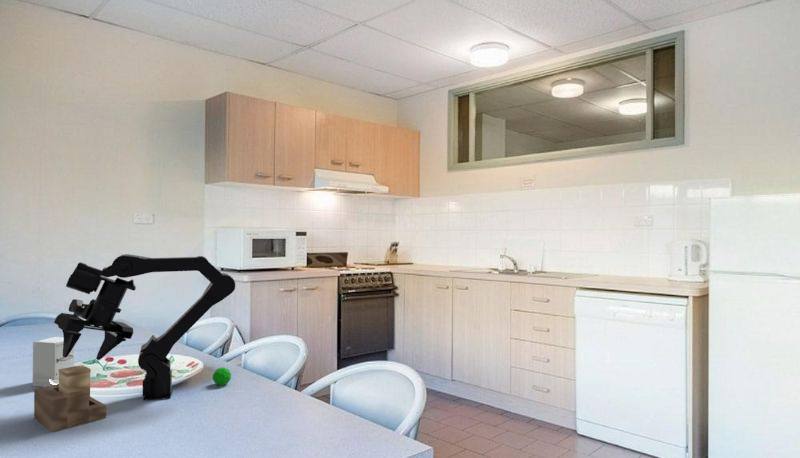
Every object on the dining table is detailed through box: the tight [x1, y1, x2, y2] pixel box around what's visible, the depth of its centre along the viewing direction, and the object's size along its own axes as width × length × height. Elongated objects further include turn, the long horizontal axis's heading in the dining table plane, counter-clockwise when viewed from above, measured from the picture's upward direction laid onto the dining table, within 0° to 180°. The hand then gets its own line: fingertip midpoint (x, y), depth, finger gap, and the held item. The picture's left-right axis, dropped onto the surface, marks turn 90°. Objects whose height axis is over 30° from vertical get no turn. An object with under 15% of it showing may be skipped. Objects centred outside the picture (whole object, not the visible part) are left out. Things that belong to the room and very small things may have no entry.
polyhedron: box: [212, 367, 232, 387], centre depth 151 cm, size 5×5×5 cm
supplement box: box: [32, 336, 75, 388], centre depth 151 cm, size 7×7×13 cm
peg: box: [59, 364, 91, 398], centre depth 125 cm, size 5×5×7 cm
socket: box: [33, 384, 107, 433], centre depth 125 cm, size 11×12×7 cm
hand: (81, 358), depth 134 cm, fingers open, 9 cm apart
